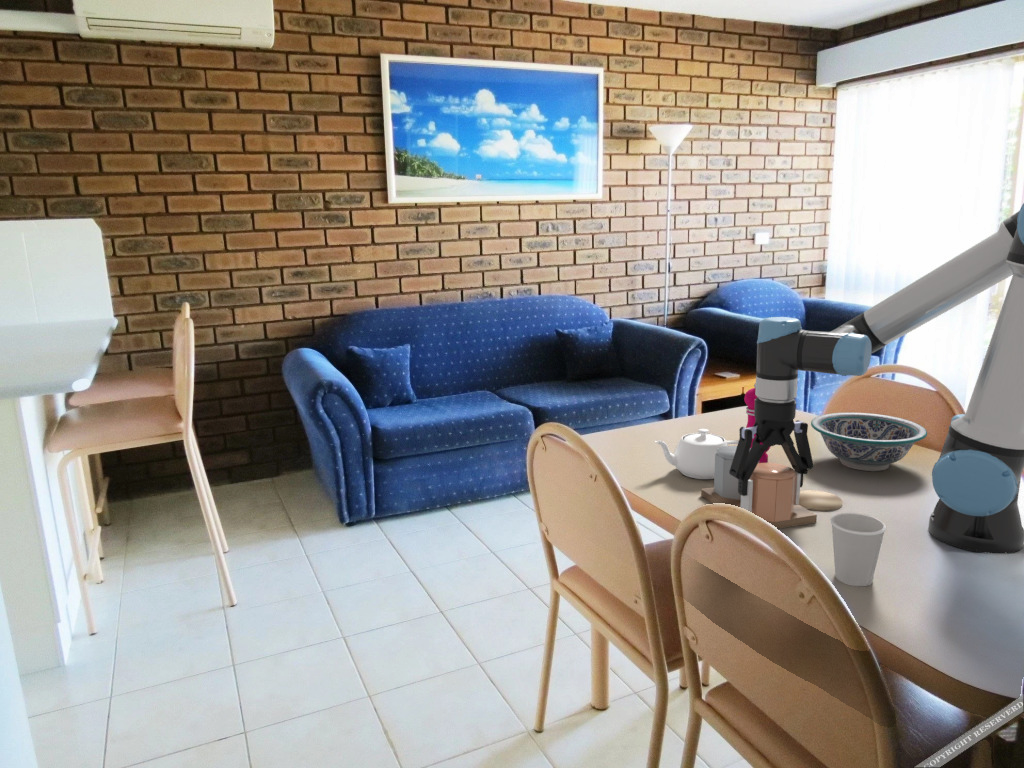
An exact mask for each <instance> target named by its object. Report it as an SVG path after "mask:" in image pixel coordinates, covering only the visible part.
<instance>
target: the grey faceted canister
mask: <svg viewBox="0 0 1024 768" xmlns="http://www.w3.org/2000/svg"><path fill="white" fill-rule="evenodd" d="M736 448H737V445H728V446H725V447H721V448H718V449H717V453H716V454H715V474H714V479H713V483H714V484H713V487H714V492H715V493H717V494H718V495H720V496H721V497H724V498H730V499H737V500H741V495H740V494H739V493H738V479H737V478H735V477H733V476H732V475H730V474H729V471H730V468H731V465H732V461H733V458H734V455H735V452H736ZM750 449H751V448H750ZM758 463H759V462H758Z"/></svg>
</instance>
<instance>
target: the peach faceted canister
mask: <svg viewBox="0 0 1024 768" xmlns="http://www.w3.org/2000/svg"><path fill="white" fill-rule="evenodd" d="M795 476H796V473H795V471H794V469H793V467H790V466H789V465H785V464H781V463H774V462H767V463H758V464H757V466H756V468H755V470H754V471H753V473H752V475H751V477H750V479H751V480H753V493H752V513H754V514H755V515H757V516H759V517H761V518H763V519H764V520H766V521H771V522H778V521H785V520H790V519H791V517H792V515H793V509H794V492H795Z"/></svg>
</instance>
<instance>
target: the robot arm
mask: <svg viewBox="0 0 1024 768" xmlns="http://www.w3.org/2000/svg"><path fill="white" fill-rule="evenodd" d="M1011 276H1012V277H1011ZM1009 277H1011V279H1010V283H1009V285H1008V289H1007V291H1006V293H1005V297H1004V300H1003V303H1002V306H1001V309H1000V313H998V318H997V320H996V324H995V326H994V329H993V332H992V335H991V339H990V341H989V344H988V347H987V350H986V353H985V356H984V358H983V361H982V365H981V367H980V371H979V373H978V376H977V379H976V382H975V384H974V387H973V391H972V393H971V396H970V399H969V402H968V405H967V408H966V411H965V413H960V414H955V415H954V416H953V417H952V418H951V419H950V423H949V424H950V425H949V426H948V432H947V435H946V437H945V440H944V443H943V446H942V449H941V452H940V456H939V457H938V459H937V461H936V462H934V464H933V468H932V471H931V476H932V477H931V483H932V487H933V489H934V491H935V494H936V495H937V497H938V501H937V502H936V504H935V507H934V509H933V511H932V512H931V514H930V516H929V519H928V531H929V533H930V535H932V536H933V537H934V538H936V539H937V540H939V541H941V542H943V543H945V544H947V545H950V546H953V547H956V548H959V549H962V550H965V551H972V552H977V553H984V554H993V555H998V554H999V555H1000V554H1002V555H1004V554H1012V553H1015V552H1018V551H1020V550H1022V549H1023V548H1024V527H1023V524H1022V518H1021V514H1020V510H1019V504H1018V502H1019V493H1020V486H1021V480H1022V473H1023V471H1024V202H1023V203H1022V205H1021V207H1020V209H1019V210H1018V211H1017V212H1016V213H1014V214H1012V215H1011V216H1010V217H1007V218H1006V219H1004V220H1003V221H1001V222H1000V224H999V227H998V230H997V231H996V232H995V233H993V234H991V235H990V236H988V237H986V238H985V239H983V240H981V241H980V242H978V243H976V244H975V245H973V246H971V247H969V248H968V249H965V251H963V252H961V253H959V254H958V255H956V256H955V257H953V258H951V259H949V260H948V261H947V262H944V263H943V264H941V265H940V266H938V267H936V268H934V269H933V270H932V271H930V272H928V273H926V274H925V275H923V276H922V277H920V278H918V279H916V280H915V281H913V282H912V283H909V284H908V285H906V286H905V287H903V288H902V289H900V290H898V291H897V292H895V293H893V294H892V295H890V296H888V297H886V298H885V299H883V300H882V301H880V302H878V303H877V304H875V305H873V306H871V307H870V308H868V309H867V310H865V311H864V312H862V313H861V314H859V315H857V316H855V317H853V318H852V319H850V320H848V321H846V322H844V323H843V324H841V325H839V326H838V327H836V328H835V329H832V330H831V331H820V330H819V331H818V330H817V331H816V330H815V331H814V330H806V329H803V328H802V323H801V320H800V319H798V318H796V317H788V316H787V317H786V316H773V317H772V316H771V317H765V318H763V319H762V320H761V321H760V322H759V325H758V335H757V341H756V345H757V346H756V373H755V374H756V375H755V383H756V391H755V395H756V396H757V398H756V399H755V408H754V415H755V424H754V426H753V427H749V428H746V427H745V426H740V428H739V438H738V441H739V442H738V444H736V446H737V448H736V452H735V455H734V458H733V461H732V465H731V468H730V471H729V474H730V475H732V476H733V477H735V478H737V479H738V493H739V494H740V495H741V506H740V507H741V508H744V509H746V510H748V511H750V512H752V493H753V480H751V479H750V477H751V475H752V473H753V471H754V470H755V468H756V466H757V464H758V462H759V460H760V459H761V457H762V455H763V453H764V452H765V451H767V449H768V448H769V446H771V447H774V446H781V448H782V450H783V451H784V453H785V456H786V457H787V459H788V461H789V464H790V466H791V468H792V469H793V470H794V471H795V473H796V476H795V492H794V505H799V496H800V491H801V488H803V486H804V485H803V484H804V475H807V474H808V472H809V470H808V469H810V470H811V469H813V468H814V461H813V457H812V452H811V448H810V442H809V438H808V429H809V424H808V423H806V422H804V421H801V420H799V419H797V420H795V421H794V419H796V413H797V409H796V408H797V401H796V398H797V396H798V380H799V379H798V378H799V377H798V375H799V374H798V373H799V372H798V371H803V372H810V373H811V372H814V373H820V374H821V373H822V374H831V375H840V376H842V377H847V376H856V377H858V376H860V377H861V376H863V375H865V374H866V373H867V372H868V369H869V368H870V364H871V358H872V354H873V353H875V352H877V351H879V350H881V349H882V348H884V347H885V346H888V344H891V343H892V342H894V341H896V340H898V339H900V338H902V337H903V336H905V335H907V334H909V333H911V332H912V331H914V330H916V329H917V328H919V327H922V326H923V325H925V324H927V323H928V322H930V321H932V320H934V319H935V318H938V317H939V316H941V315H943V314H945V313H947V312H948V311H951V310H952V309H954V308H955V307H956V308H957V306H959V305H962V304H963V303H965V302H967V301H968V300H970V299H972V298H973V297H975V296H977V295H979V294H981V293H982V292H984V291H986V290H988V289H990V288H991V287H993V286H995V285H997V284H999V283H1001V282H1002V281H1005V280H1006V279H1008V278H1009ZM792 433H793V434H794V438H795V439H794V440H795V443H796V446H795V443H794V440H793V439H792V437H791V434H792ZM754 434H756V437H755V439H754V440H753V442H752V439H753V438H754ZM760 442H761V443H763V444H762V445H761V444H760ZM751 444H752V445H753V446H752V448H751V449H750V447H751ZM767 452H768V451H767Z"/></svg>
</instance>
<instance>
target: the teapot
mask: <svg viewBox="0 0 1024 768" xmlns="http://www.w3.org/2000/svg"><path fill="white" fill-rule="evenodd" d="M709 432H710V431H709V429H707V428H699V429H698V430H697V432H692V433H687V434H684V435H682V436H681V438H680V439H679V441H678V442H677V445H676V447H675V450H674V452H673V453H672V452H671V451H670V449H669V446H668V444H667V443H666V442H665V441H663V440H654V443H656V444H658V445H659V446H660V447H661V448H662V451H663V455H664V457H665V459H666V461H667V463H669V465H672V466H674V467H675V468H676V469H677V470H678V471H679V472H680V473H681V474H682V475H684V476H686V477H687V478H692V479H697V480H714V474H715V454H716V453H717V449H718V448H721V447H725V446H729V445H738V442H739V439H738V440H735V439H734V440H733V439H732V440H731V439H729V440H726V439H725V437H724V436H721V435H719V434H715V433H711V432H710V433H709Z"/></svg>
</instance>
